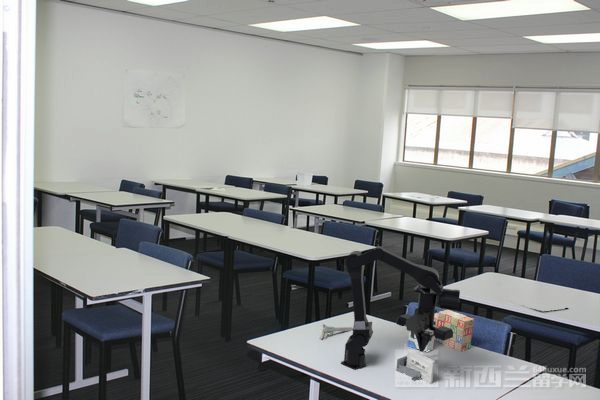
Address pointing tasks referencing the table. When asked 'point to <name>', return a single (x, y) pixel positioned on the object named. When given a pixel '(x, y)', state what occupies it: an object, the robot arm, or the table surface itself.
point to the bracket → (407, 369)
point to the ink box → (413, 342)
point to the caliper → (331, 330)
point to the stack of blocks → (455, 329)
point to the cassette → (426, 367)
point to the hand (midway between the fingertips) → (421, 351)
